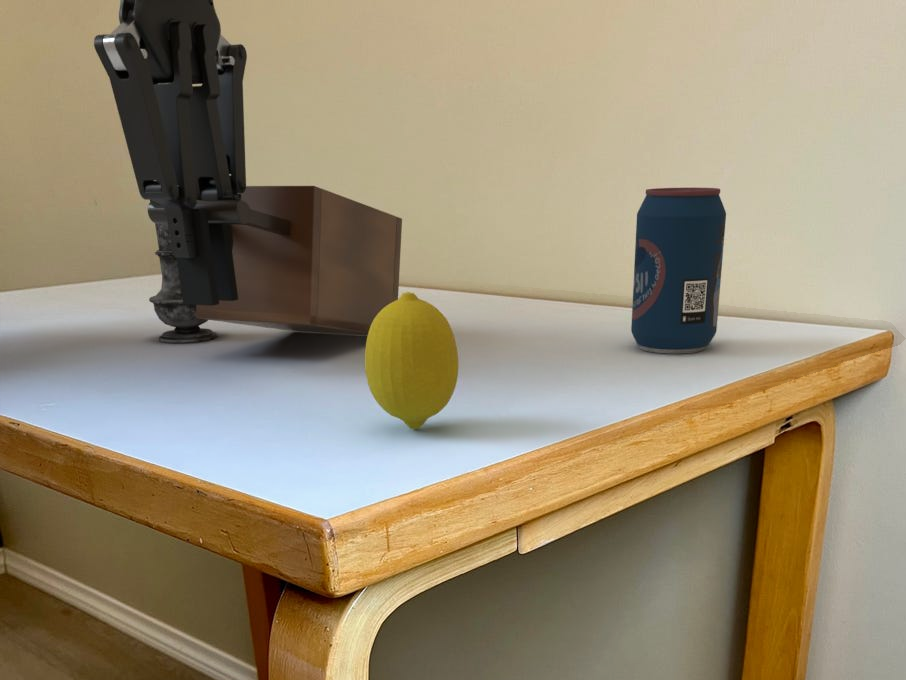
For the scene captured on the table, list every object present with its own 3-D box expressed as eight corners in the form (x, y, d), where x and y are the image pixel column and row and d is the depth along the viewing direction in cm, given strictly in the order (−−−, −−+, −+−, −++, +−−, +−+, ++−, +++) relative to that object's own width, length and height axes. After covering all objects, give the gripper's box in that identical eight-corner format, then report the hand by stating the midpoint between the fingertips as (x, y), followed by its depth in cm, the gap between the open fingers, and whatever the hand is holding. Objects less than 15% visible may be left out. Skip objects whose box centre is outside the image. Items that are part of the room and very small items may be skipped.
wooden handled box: (293, 331, 95) (296, 217, 92) (396, 337, 90) (402, 218, 88) (132, 309, 76) (130, 165, 73) (253, 316, 71) (255, 163, 69)
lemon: (477, 424, 62) (474, 288, 59) (424, 446, 58) (417, 301, 55) (406, 414, 65) (399, 283, 61) (351, 434, 61) (339, 295, 57)
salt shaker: (179, 331, 96) (159, 193, 90) (233, 333, 94) (215, 193, 89) (141, 342, 91) (117, 197, 86) (197, 344, 89) (176, 196, 84)
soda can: (617, 342, 86) (624, 188, 80) (692, 337, 87) (703, 186, 82) (651, 357, 80) (660, 192, 74) (730, 351, 81) (745, 189, 76)
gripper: (123, -110, 57) (188, 319, 68) (271, -71, 69) (306, 290, 80) (25, -96, 60) (102, 315, 71) (184, -60, 72) (229, 287, 83)
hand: (210, 301), depth 75 cm, fingers closed on wooden handled box, 2 cm apart
